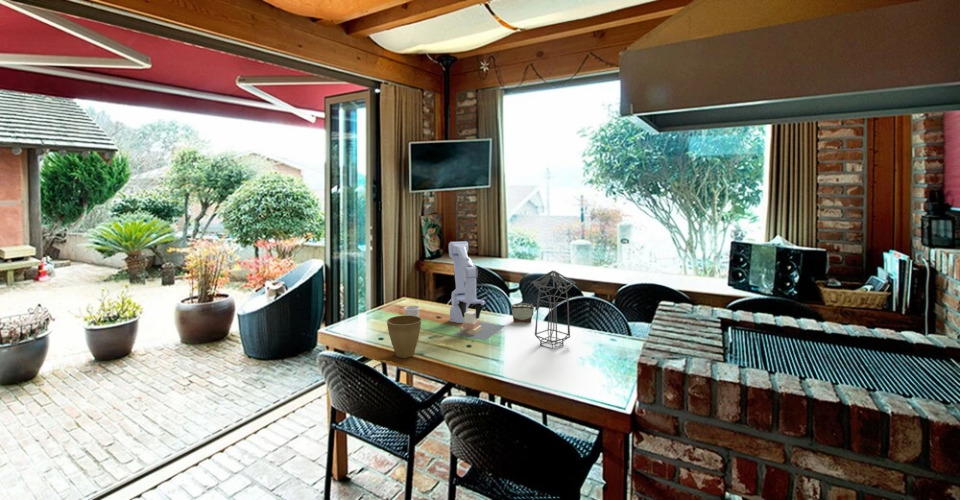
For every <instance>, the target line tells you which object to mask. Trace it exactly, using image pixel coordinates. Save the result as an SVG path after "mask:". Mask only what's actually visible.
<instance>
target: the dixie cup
mask: <svg viewBox="0 0 960 500" xmlns="http://www.w3.org/2000/svg"><path fill="white" fill-rule="evenodd" d="M420 309H421V307H420V306H419V305H407V306H405V307H404V308H403V310H404V314H405V315H411V316H417V317H420Z"/></svg>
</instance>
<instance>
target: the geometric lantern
mask: <svg viewBox="0 0 960 500" xmlns="http://www.w3.org/2000/svg"><path fill="white" fill-rule="evenodd" d="M563 278H564V279H563ZM550 279H551V280H552V283H553V284H552V285H553V286H547V285H548V284H549V282H550ZM565 279H566V280H567V281H566V280H565ZM555 283H556V287H555ZM530 284H532V285H534V287H535V288H536V289H538V295H537V299H536V300H537V301H536V302H537V303H536V318H535V319H536V320H535V328H534V329H535V330H534V337H536V338H537V339H538V341H540V344H539V345H540V346H541V347H544V348H548V349H552V350H554V349H558V348H560V347H562V346H564V342H565V341H567V340H568V339H570V338H571V329H570V308H569V307H570V306H569V305H570V303H569V301H570V300H569V297H568V291H569V290H571V288H572V287H574V286H575V284H576V281H573V280H572V279H570V278H568V277H566V276H565V275H563V274H561V273H560V272H558V271H556V270H551V271H549V272H547V273H545V274H543V275H542V276H540V277H537V278H536V279H534V280H532V281H531V282H530ZM567 284H568V285H567ZM562 285H564V286H562ZM541 289H543V290H541ZM545 289H546V290H545ZM553 289H556V291H555V292H554V294H553V295H552V294H551V293H550V291H551V290H553ZM563 289H564V290H563ZM558 291H559V292H560V294H559V295H556V294H557V293H558ZM542 293H544V294H545V296H542V297H541V294H542ZM547 293H549V295H548V294H547ZM562 294H565V296H566V297H563V296H561V295H562ZM552 297H553V302H552ZM544 298H547V299H548V301H544V300H541V299H544ZM556 298H557V299H556ZM559 298H560V299H564V300H562V301H559ZM557 301H559V302H557ZM540 302H544V303H547V304H549V306H548V319H547V329H545V330H543V331H539V332H538V318H539V316H538V315H539V308H540ZM564 302H566V307H567V308H566V309H567V333H566V332H562V331H559V330H558V318H557V304H561V303H564ZM552 325H553V326H552ZM552 327H553V328H552ZM549 331H550V332H549ZM545 332H547V335H548V336H547V337H542V336H539V335H538V334H541V333H545ZM554 332H555V337H554V336H553V334H554ZM558 333H560V334H564V335H565V337H563V338H559V337H558ZM552 339H554V340H552ZM544 340H545V341H544ZM543 344H548V345H551V346H552V347H549V346H547V345H543ZM557 344H560V345H558V346H556V345H557Z"/></svg>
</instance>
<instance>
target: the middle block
mask: <svg viewBox="0 0 960 500" xmlns="http://www.w3.org/2000/svg"><path fill="white" fill-rule="evenodd" d="M479 322H480V321H479V320H477V322H475V323H473V324H470V323H465V322H464V323H462V327H463V328H468V329H475V328H477V327H478V326H479Z"/></svg>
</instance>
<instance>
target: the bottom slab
mask: <svg viewBox="0 0 960 500" xmlns="http://www.w3.org/2000/svg"><path fill="white" fill-rule="evenodd" d="M459 331H460V333H464V334H471V335H476V334H477V333H479V332H480V331H482V326H481V325H479V326H478V327H477V328H475V329H468V328H463V326H461V327H460V328H459Z"/></svg>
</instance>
